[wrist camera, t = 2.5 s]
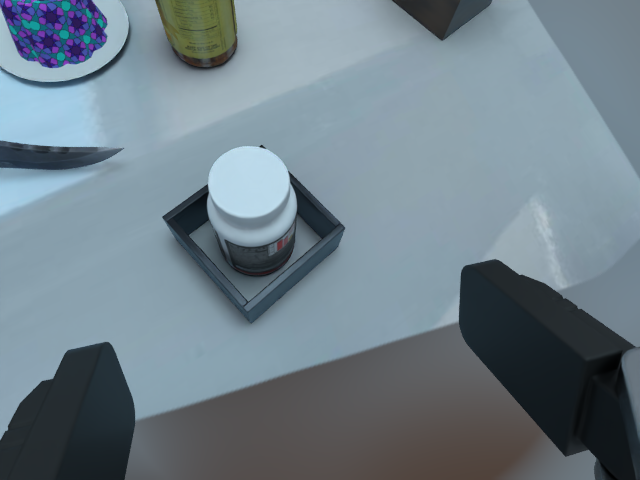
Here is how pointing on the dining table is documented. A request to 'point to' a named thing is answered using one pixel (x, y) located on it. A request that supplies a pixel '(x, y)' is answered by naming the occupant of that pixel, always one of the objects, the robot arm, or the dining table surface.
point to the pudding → (60, 37)
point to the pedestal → (443, 13)
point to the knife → (51, 156)
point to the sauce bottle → (200, 29)
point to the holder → (331, 233)
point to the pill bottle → (252, 209)
